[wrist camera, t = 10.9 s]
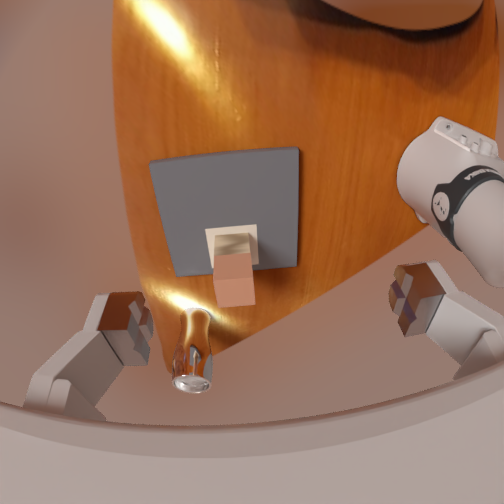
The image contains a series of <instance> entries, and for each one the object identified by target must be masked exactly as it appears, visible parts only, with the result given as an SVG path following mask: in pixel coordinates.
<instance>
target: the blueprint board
mask: <svg viewBox="0 0 504 504" xmlns="http://www.w3.org/2000/svg"><path fill="white" fill-rule="evenodd" d="M149 168H150V172H151V177H152V182H153V186H154V190H155V195H156V199H157V203H158V208H159V212H160V216H161V220H162V224H163V228H164V232H165V236H166V240H167V244H168V248H169V251H170V255H171V259H172V262H173V266H174V270H175V273H176V277H180V276H192V275H204V274H213V270H214V242H215V235H225V234H237V233H248V236H249V246H250V253H251V261H252V270H262V269H273V268H284V267H295V266H297V239H298V191H299V149H298V147H279V148H263V149H249V150H237V151H227V152H217V153H207V154H198V155H190V156H182V157H175V158H168V159H161V160H154V161H150V163H149Z"/></svg>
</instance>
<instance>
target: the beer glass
mask: <svg viewBox="0 0 504 504" xmlns="http://www.w3.org/2000/svg"><path fill="white" fill-rule="evenodd" d="M180 321H181V332H180V336H179V339H178V342H177V345H176V348H175V352H174V356H173V364H172V385H173V386H174V387H175V388H176V389H178V390H180V391H182V392H186V393H203V392H206V391H208V390H209V389H210V388H211V380H212V368H213V359H212V351H211V346H210V341H209V327H210V323H211V316H210V314H209V313H208V312H207V311H205V310H203V309H200V308H189V309H186V310H184V311H183V312H182V313H181V315H180Z"/></svg>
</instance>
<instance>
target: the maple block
mask: <svg viewBox="0 0 504 504" xmlns="http://www.w3.org/2000/svg"><path fill="white" fill-rule="evenodd" d="M242 253H250V246H249V236H248V233H237V234H225V235H215V242H214V256H219V255H230V254H242Z"/></svg>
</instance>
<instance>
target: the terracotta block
mask: <svg viewBox="0 0 504 504" xmlns="http://www.w3.org/2000/svg"><path fill="white" fill-rule="evenodd" d="M213 283H214V288H215V293H216V298H217V303H218V308H221V307H233V306H245V305H255V295H254V282H253V271H252V261H251V253H242V254H230V255H219V256H214V270H213Z"/></svg>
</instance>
